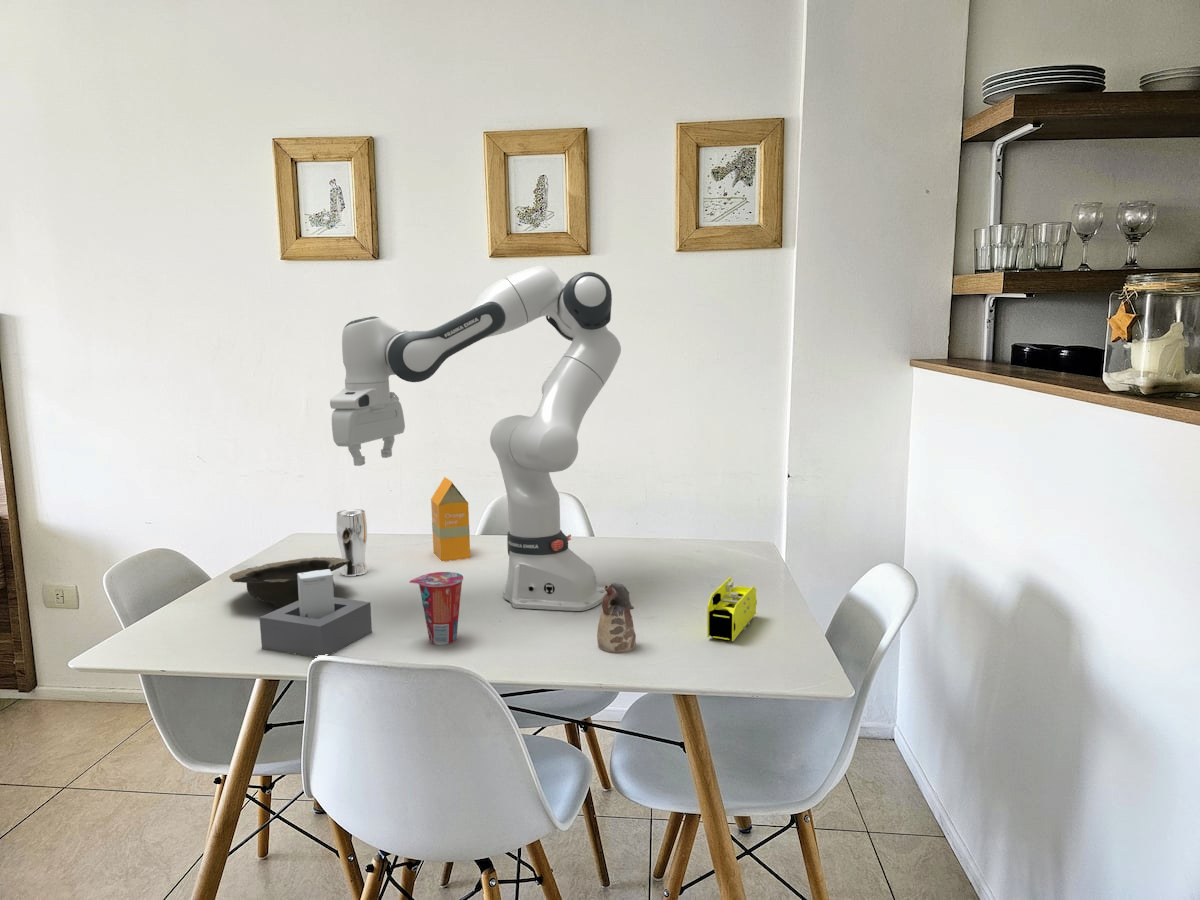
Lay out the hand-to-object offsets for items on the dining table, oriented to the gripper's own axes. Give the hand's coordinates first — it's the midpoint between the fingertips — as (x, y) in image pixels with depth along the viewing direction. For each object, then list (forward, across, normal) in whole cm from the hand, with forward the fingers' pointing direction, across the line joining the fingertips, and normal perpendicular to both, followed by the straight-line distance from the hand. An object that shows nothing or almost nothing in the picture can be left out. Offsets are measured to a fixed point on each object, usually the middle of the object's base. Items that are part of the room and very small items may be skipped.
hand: (373, 461), depth 175 cm
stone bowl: (+30, +6, -20) cm, 37 cm away
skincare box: (+29, +24, +2) cm, 38 cm away
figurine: (+31, +9, +57) cm, 65 cm away
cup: (+31, +17, +24) cm, 43 cm away
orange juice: (+31, -35, -4) cm, 47 cm away
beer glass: (+31, -14, -19) cm, 39 cm away
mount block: (+30, +24, +2) cm, 39 cm away
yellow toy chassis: (+32, -7, +75) cm, 82 cm away
